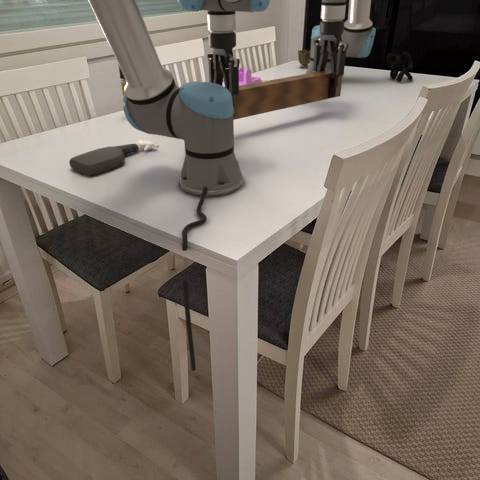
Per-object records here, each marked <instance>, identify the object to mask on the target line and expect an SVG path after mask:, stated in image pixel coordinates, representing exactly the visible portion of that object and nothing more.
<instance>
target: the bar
mask: <svg viewBox="0 0 480 480" xmlns="http://www.w3.org/2000/svg"><path fill="white" fill-rule="evenodd" d="M330 76H332V74H331V70H325V71H320V72H314V73H308V74H306V73H304V74H303V73H302V74H298V75H293V76H287V77H281V78H276V79H275V78H274V79H270V80H265V81H261V82H258V83H252V84H247V85H241V86H239V95H237V96H235V97H234V119H233V121H235V120H238V119H244V118H248V117H253V116H257V115H262V114H267V113H271V112H276V111H280V110H284V109H289V108H293V107H298V106H302V105H306V104H312V103H316V102H320V101H324V100H330V99H334V98H338V97H341V93H342V84H343V76H339V77H338V86H337V87H336V94H335V97H331V98H328V91H329V79H330Z"/></svg>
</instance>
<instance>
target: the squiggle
mask: <svg viewBox="0 0 480 480" xmlns="http://www.w3.org/2000/svg"><path fill="white" fill-rule="evenodd" d="M401 57H402V59H401ZM391 59H392V60H391ZM393 60H394V61H393ZM385 61H386V64H387V67H390V68H391V70H390V72H389V78H390V79H391V80H395V79H396V81H397V82H399V83H400V82H402V81H403V79H404V76H406V78H407V80H408V81H412V80H413V79H414V77H413V75H412V74H411V73H410V72H409V71H410V70H412V69H413V68H414V64H413V61H412V57H411V54H410V53H409V52H408V51H403V53H402V54H401V55H396V54H394V53H392V52H390V53H387V55H386V57H385ZM406 62H407V65H408V66H407V67H405V66H404V65H405V64H406ZM400 70H401V71H400Z"/></svg>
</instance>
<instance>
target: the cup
mask: <svg viewBox="0 0 480 480" xmlns="http://www.w3.org/2000/svg"><path fill="white" fill-rule="evenodd" d="M310 54H311V49H309V50H307V49H300V50H297V57H298V63H299V64H300V67H301V68H302V69H308V66H309V64H310Z"/></svg>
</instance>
